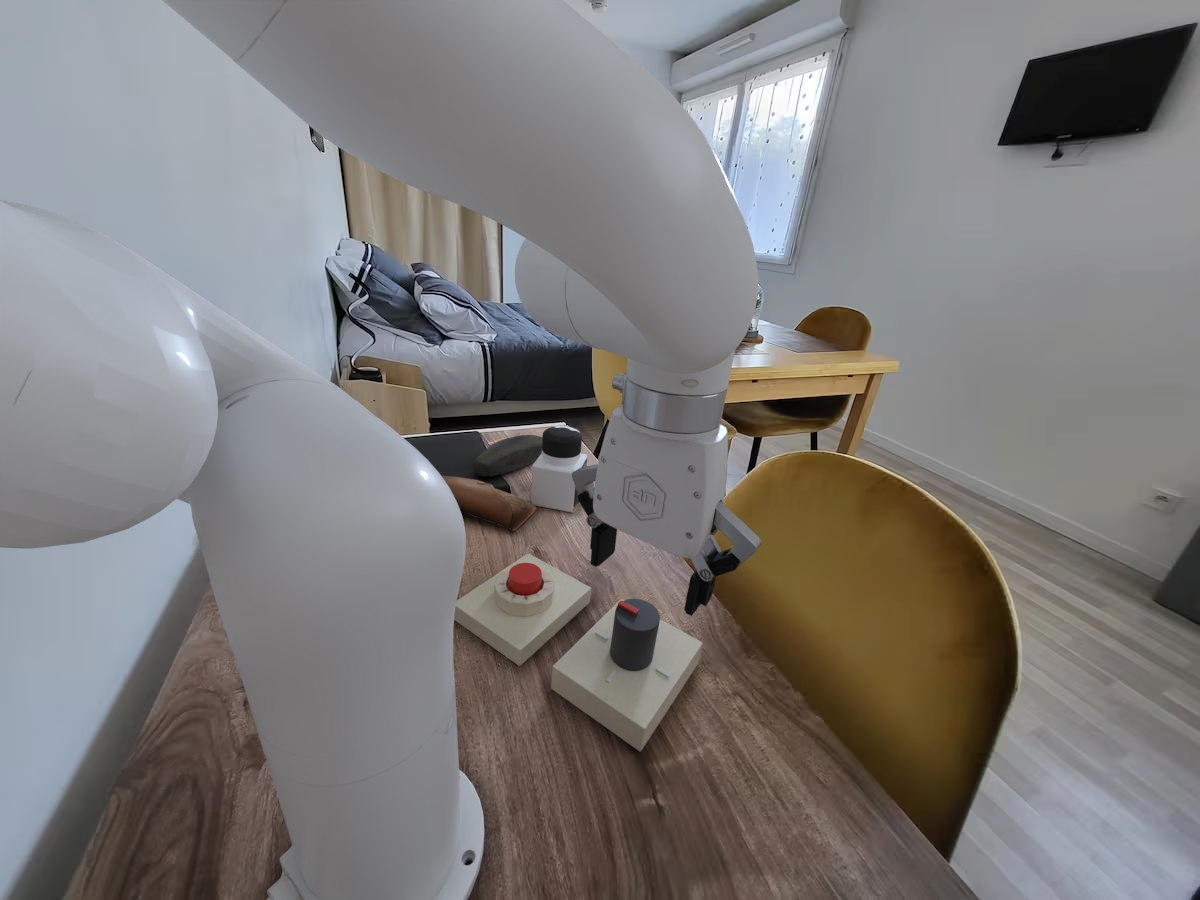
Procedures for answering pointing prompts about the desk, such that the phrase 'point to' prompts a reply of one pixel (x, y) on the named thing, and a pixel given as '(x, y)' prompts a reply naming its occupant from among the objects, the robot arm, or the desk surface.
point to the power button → (525, 579)
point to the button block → (521, 610)
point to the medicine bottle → (557, 469)
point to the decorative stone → (508, 455)
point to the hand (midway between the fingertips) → (646, 580)
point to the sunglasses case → (489, 502)
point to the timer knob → (634, 634)
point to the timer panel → (625, 680)
